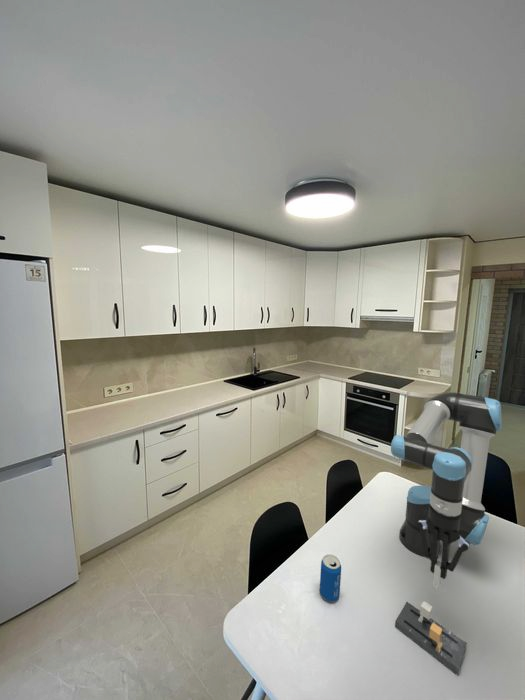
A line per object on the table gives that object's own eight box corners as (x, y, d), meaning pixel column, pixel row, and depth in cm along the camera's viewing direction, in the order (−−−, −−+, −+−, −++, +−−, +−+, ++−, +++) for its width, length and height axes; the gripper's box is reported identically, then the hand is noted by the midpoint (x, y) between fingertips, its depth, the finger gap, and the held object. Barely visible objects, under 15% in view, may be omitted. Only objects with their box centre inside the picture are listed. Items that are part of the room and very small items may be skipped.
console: (394, 626, 86) (395, 620, 86) (406, 607, 92) (406, 601, 92) (457, 675, 75) (458, 668, 74) (466, 649, 81) (466, 642, 81)
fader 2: (428, 642, 80) (430, 628, 80) (431, 636, 82) (432, 622, 81) (438, 649, 78) (439, 635, 78) (440, 643, 80) (442, 629, 80)
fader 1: (419, 619, 86) (421, 606, 86) (422, 613, 88) (423, 600, 88) (428, 625, 85) (429, 612, 84) (431, 620, 86) (432, 606, 86)
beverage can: (328, 607, 91) (330, 572, 90) (315, 590, 97) (317, 557, 96) (343, 598, 94) (345, 565, 93) (330, 582, 100) (332, 550, 99)
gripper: (415, 503, 83) (408, 577, 86) (469, 527, 74) (460, 609, 77) (424, 493, 89) (417, 563, 91) (475, 514, 79) (467, 592, 82)
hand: (437, 584), depth 84 cm, fingers closed
